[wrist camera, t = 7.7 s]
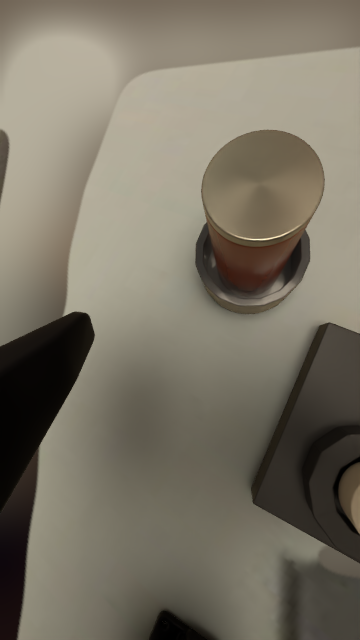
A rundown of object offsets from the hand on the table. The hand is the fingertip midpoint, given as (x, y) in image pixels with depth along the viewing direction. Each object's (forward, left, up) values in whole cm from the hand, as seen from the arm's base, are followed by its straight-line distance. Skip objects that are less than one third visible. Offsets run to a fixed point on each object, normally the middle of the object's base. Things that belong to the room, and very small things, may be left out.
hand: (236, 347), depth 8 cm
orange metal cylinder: (+6, +2, -12) cm, 14 cm away
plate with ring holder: (-2, -8, -12) cm, 15 cm away
